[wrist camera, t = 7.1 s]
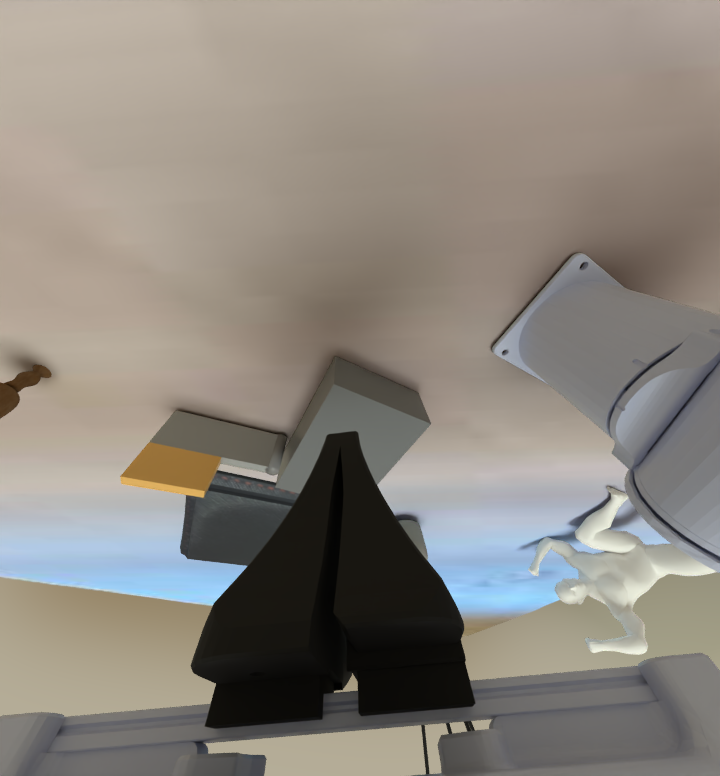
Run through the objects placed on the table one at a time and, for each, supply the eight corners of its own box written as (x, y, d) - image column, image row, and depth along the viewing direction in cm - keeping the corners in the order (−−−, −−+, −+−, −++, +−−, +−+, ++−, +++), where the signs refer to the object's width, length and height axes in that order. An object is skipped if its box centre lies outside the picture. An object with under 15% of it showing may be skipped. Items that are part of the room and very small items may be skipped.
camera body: (418, 393, 23) (432, 428, 19) (351, 478, 29) (352, 517, 25) (335, 356, 21) (333, 388, 17) (281, 457, 27) (270, 497, 23)
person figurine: (747, 577, 23) (608, 678, 29) (779, 560, 28) (656, 648, 35) (589, 469, 34) (514, 560, 40) (634, 471, 39) (561, 551, 45)
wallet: (184, 474, 25) (331, 505, 30) (193, 458, 27) (332, 490, 31) (170, 564, 35) (282, 577, 39) (178, 548, 37) (285, 563, 41)
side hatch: (175, 408, 22) (120, 475, 17) (288, 436, 25) (272, 501, 19) (175, 418, 23) (121, 485, 17) (285, 443, 25) (269, 510, 20)
